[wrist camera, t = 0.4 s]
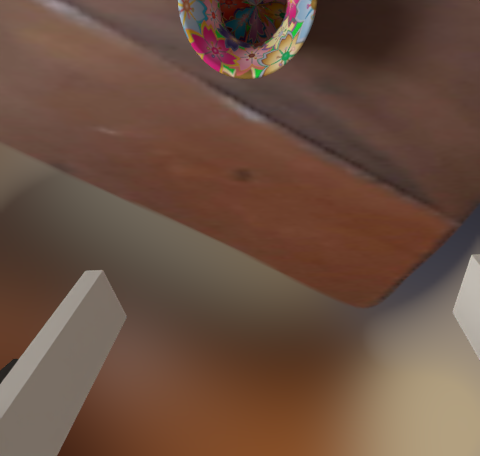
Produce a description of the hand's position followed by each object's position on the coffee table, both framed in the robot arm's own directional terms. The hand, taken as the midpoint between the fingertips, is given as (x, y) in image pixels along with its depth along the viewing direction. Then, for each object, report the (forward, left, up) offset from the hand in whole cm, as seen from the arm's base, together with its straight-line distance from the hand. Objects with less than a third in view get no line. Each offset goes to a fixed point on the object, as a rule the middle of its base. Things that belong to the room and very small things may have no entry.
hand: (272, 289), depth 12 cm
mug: (-10, -2, -28) cm, 30 cm away
